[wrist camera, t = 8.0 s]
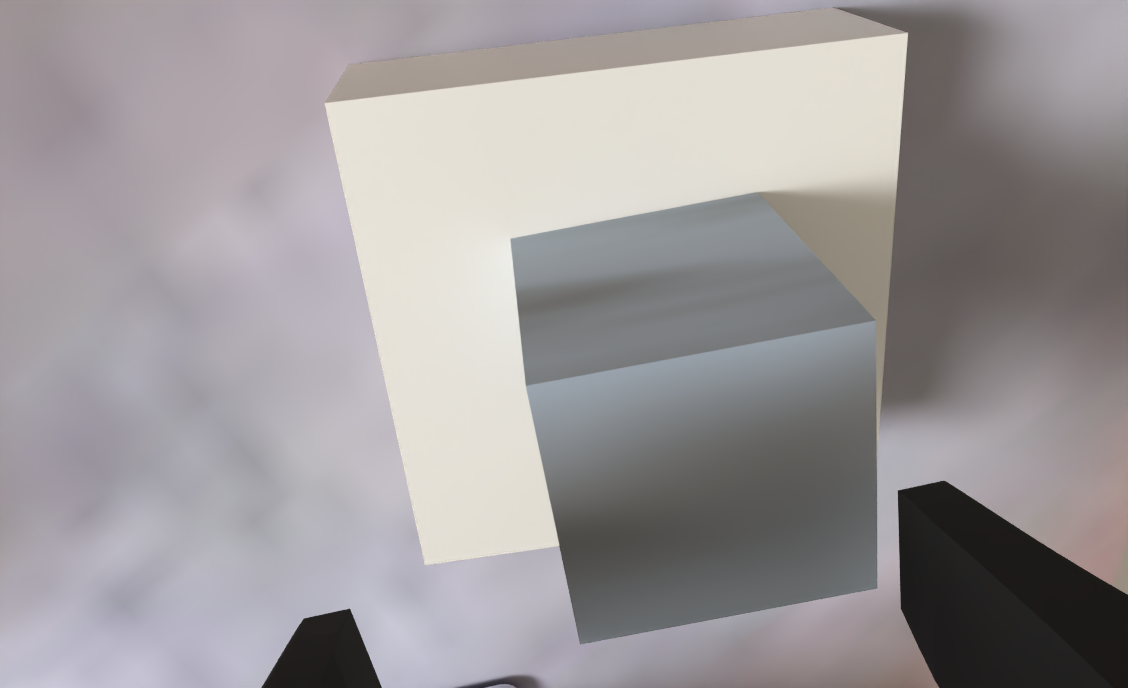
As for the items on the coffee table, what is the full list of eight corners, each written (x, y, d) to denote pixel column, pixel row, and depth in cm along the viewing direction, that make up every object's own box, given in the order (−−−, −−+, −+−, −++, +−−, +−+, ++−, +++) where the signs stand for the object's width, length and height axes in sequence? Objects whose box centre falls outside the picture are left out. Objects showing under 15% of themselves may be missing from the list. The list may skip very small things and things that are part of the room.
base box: (812, 408, 24) (874, 501, 20) (430, 461, 23) (425, 565, 20) (826, 4, 19) (908, 32, 16) (350, 60, 19) (324, 103, 15)
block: (771, 404, 19) (877, 587, 14) (552, 446, 19) (580, 644, 14) (757, 192, 17) (876, 320, 12) (509, 238, 17) (525, 385, 12)
